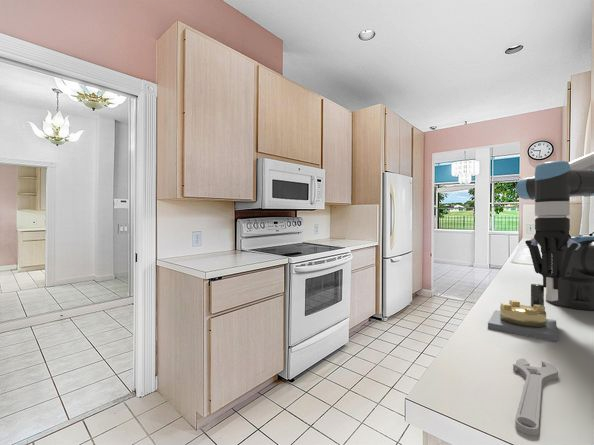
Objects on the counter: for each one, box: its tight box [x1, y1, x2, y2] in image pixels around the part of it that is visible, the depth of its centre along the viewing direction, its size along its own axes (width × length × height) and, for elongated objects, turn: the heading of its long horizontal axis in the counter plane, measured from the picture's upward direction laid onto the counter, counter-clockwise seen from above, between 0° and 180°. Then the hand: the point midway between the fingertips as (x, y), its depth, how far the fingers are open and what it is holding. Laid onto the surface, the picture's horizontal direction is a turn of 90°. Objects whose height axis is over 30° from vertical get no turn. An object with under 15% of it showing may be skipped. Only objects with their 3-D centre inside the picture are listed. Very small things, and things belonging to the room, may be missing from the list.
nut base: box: [487, 309, 558, 343], centre depth 83 cm, size 19×15×2 cm
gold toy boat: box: [499, 283, 547, 327], centre depth 83 cm, size 18×10×8 cm, turn 124°
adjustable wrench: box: [512, 358, 559, 437], centre depth 51 cm, size 25×6×2 cm, turn 134°
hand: (552, 299), depth 84 cm, fingers closed
